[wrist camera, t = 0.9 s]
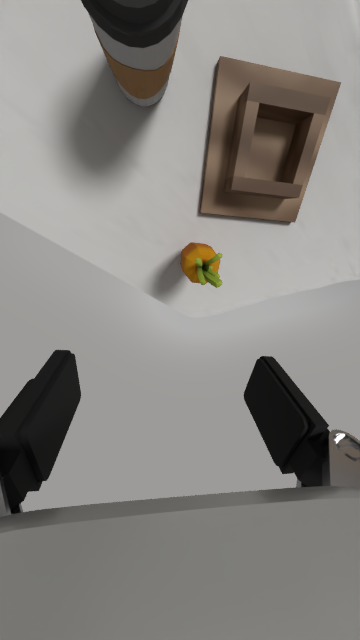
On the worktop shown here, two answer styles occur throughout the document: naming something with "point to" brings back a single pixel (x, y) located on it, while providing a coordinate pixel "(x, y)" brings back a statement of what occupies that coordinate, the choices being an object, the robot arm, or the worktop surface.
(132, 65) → the coffee cup
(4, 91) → the worktop surface
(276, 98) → the walnut stand
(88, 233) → the worktop surface
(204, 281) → the carrot
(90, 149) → the worktop surface
